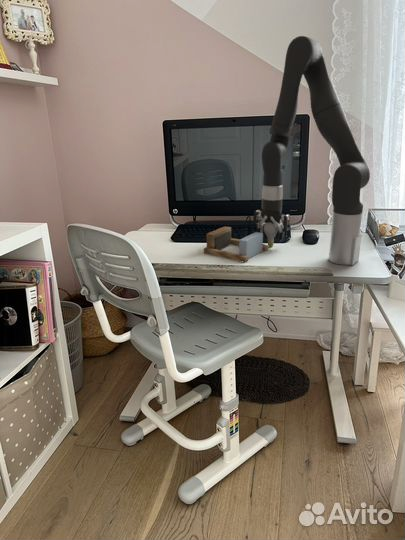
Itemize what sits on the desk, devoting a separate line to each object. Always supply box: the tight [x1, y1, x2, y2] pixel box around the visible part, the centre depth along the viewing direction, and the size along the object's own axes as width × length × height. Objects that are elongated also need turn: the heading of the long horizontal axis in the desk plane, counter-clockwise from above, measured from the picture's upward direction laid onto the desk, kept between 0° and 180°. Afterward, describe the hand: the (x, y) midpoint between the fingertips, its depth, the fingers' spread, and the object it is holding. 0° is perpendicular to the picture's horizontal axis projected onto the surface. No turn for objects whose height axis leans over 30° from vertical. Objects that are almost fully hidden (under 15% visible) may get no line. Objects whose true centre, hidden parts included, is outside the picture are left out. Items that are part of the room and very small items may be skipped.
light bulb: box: [263, 223, 279, 248], centre depth 162 cm, size 6×6×10 cm
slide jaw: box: [238, 231, 264, 260], centre depth 155 cm, size 3×12×7 cm, turn 144°
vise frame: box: [203, 226, 269, 263], centre depth 158 cm, size 18×16×7 cm
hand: (270, 239), depth 163 cm, fingers open, 8 cm apart
